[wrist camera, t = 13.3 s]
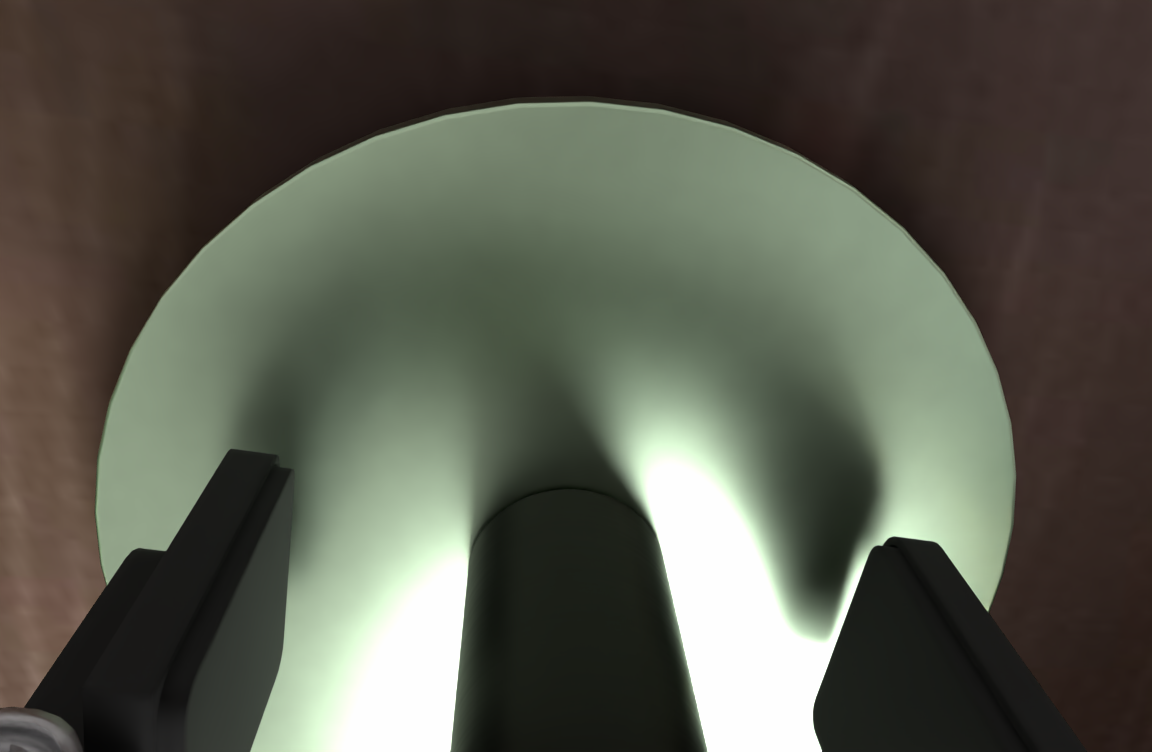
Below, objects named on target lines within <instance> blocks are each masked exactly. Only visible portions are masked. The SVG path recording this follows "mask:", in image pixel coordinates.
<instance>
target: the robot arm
mask: <svg viewBox="0 0 1152 752" xmlns="http://www.w3.org/2000/svg"><path fill="white" fill-rule="evenodd" d="M294 486H295V471H294V469H291V468H283V467H280V459H279V456H278V455H276V454H268V453H261V452H253V451H246V450H238V449H230V450H229V451H228V452H227V453H226V455H225V456H224V458H223V460H222V461H221V463H220V465H219V466H218V468H217V469H216V471H215V473H214V474H213V476H212V477H211V479H210V481H209V482H208V484H207V486H206V487H205V489H204V490H203V492H202V494H201V495H200V497H199V499H198V500H197V502H196V503H195V505H194V507H193V508H192V510H191V511H190V513H189V515H188V516H187V518H186V520H185V521H184V523H183V524H182V526H181V528H180V529H179V531H178V533H177V534H176V536H175V537H174V539H173V541H172V542H171V544H170V545H169V547H168V549H167V550H166V551H160V550H152V549H143V548H137V549H135V550H132V551H131V552H130V554H129V555H128V556H127V557H126V558H125V560H124V561H123V563H122V564H121V565H120V567H119V568H118V570H117V571H116V573H115V574H114V576H113V577H112V579H111V580H110V582H109V583H108V585H107V586H106V588H105V589H104V591H103V592H102V593H101V595H100V596H99V598H98V599H97V601H96V602H95V604H94V605H93V607H92V608H91V610H90V611H89V613H88V614H87V616H86V617H85V618H84V620H83V621H82V623H81V624H80V626H79V627H78V629H77V630H76V632H75V633H74V635H73V636H72V638H71V639H70V641H69V642H68V644H67V645H66V646H65V648H64V649H63V651H62V652H61V654H60V655H59V657H58V658H57V660H56V661H55V663H54V664H53V666H52V667H51V669H50V670H49V672H48V673H47V674H46V676H45V677H44V679H43V680H42V682H41V683H40V685H39V686H38V688H37V689H36V691H35V692H34V694H33V695H32V697H31V698H30V700H29V701H28V702H27V704H26V705H25V707H24V708H19V707H6V708H0V752H250V751H251V748H252V745H253V742H254V740H255V737H256V734H257V731H258V728H259V725H260V723H261V720H262V717H263V714H264V711H265V708H266V706H267V703H268V700H269V697H270V694H271V691H272V689H273V686H274V683H275V680H276V677H277V674H278V671H279V667H280V663H281V658H282V652H283V644H284V631H285V616H286V602H287V587H288V573H289V558H290V544H291V529H292V515H293V501H294ZM813 727H814V731H815V734H816V737H817V740H818V742H819V745H820V748H821V750H822V752H1087V750H1086V749H1085V748H1084V746H1083V745H1082V743H1081V742H1080V741H1079V739H1078V738H1077V736H1076V735H1075V734H1074V732H1073V731H1072V729H1071V728H1070V727H1069V725H1068V724H1067V722H1066V721H1065V720H1064V718H1063V717H1062V715H1061V714H1060V713H1059V711H1058V710H1057V708H1056V707H1055V706H1054V704H1053V703H1052V701H1051V700H1050V699H1049V697H1048V696H1047V694H1046V693H1045V692H1044V690H1043V689H1042V687H1041V686H1040V685H1039V683H1038V682H1037V680H1036V679H1035V677H1034V676H1033V675H1032V673H1031V672H1030V670H1029V669H1028V668H1027V666H1026V665H1025V663H1024V662H1023V661H1022V659H1021V658H1020V656H1019V655H1018V654H1017V652H1016V651H1015V649H1014V648H1013V647H1012V645H1011V644H1010V642H1009V641H1008V640H1007V638H1006V637H1005V635H1004V634H1003V633H1002V631H1001V630H1000V628H999V627H998V626H997V624H996V623H995V621H994V620H993V619H992V617H991V616H990V614H989V613H988V612H987V610H986V609H985V607H984V606H983V605H982V603H981V602H980V600H979V599H978V598H977V596H976V595H975V593H974V592H973V591H972V589H971V588H970V586H969V585H968V584H967V582H966V581H965V579H964V578H963V577H962V575H961V574H960V572H959V571H958V570H957V568H956V567H955V565H954V564H953V562H952V561H951V560H950V558H949V557H948V555H947V554H946V553H945V551H944V550H943V548H942V547H941V546H940V545H939V544H938V543H937V542H933V541H926V540H919V539H911V538H904V537H896V536H893V537H890V538H888V539H887V540H886V541H885V543H884V544H883V546H880V545H877V546H874V547H873V549H872V550H871V551H870V553H869V555H868V558H867V561H866V563H865V566H864V569H863V571H862V574H861V577H860V579H859V582H858V585H857V588H856V590H855V593H854V596H853V598H852V601H851V604H850V606H849V609H848V612H847V615H846V617H845V620H844V623H843V625H842V628H841V631H840V634H839V636H838V639H837V642H836V644H835V647H834V650H833V652H832V655H831V658H830V661H829V663H828V666H827V669H826V671H825V674H824V677H823V679H822V682H821V685H820V688H819V690H818V693H817V696H816V698H815V702H814V705H813Z"/></svg>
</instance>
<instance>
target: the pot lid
mask: <svg viewBox="0 0 1152 752" xmlns="http://www.w3.org/2000/svg"><path fill="white" fill-rule="evenodd" d="M230 449H238V450H246V451H253V452H261V453H268V454H276V455H278V456H279V459H280V467H283V468H291V469H294V471H295V486H294V501H293V515H292V529H291V544H290V558H289V573H288V587H287V602H286V616H285V631H284V644H283V652H282V658H281V663H280V667H279V671H278V674H277V677H276V680H275V683H274V686H273V689H272V691H271V694H270V697H269V700H268V703H267V706H266V708H265V711H264V714H263V717H262V720H261V723H260V725H259V728H258V731H257V734H256V737H255V740H254V742H253V745H252V748H251V751H250V752H822V750H821V748H820V745H819V742H818V740H817V737H816V734H815V731H814V727H813V705H814V702H815V698H816V696H817V693H818V690H819V688H820V685H821V682H822V679H823V677H824V674H825V671H826V669H827V666H828V663H829V661H830V658H831V655H832V652H833V650H834V647H835V644H836V642H837V639H838V636H839V634H840V631H841V628H842V625H843V623H844V620H845V617H846V615H847V612H848V609H849V606H850V604H851V601H852V598H853V596H854V593H855V590H856V588H857V585H858V582H859V579H860V577H861V574H862V571H863V569H864V566H865V563H866V561H867V558H868V555H869V553H870V551H871V550H872V549H873V547H874V546H877V545H880V546H883V544H884V543H885V541H886V540H887V539H888V538H890V537H893V536H896V537H904V538H911V539H919V540H926V541H933V542H937V543H938V544H939V545H940V546H941V547H942V548H943V550H944V551H945V553H946V554H947V555H948V557H949V558H950V560H951V561H952V562H953V564H954V565H955V567H956V568H957V570H958V571H959V572H960V574H961V575H962V577H963V578H964V579H965V581H966V582H967V584H968V585H969V586H970V588H971V589H972V591H973V592H974V593H975V595H976V596H977V598H978V599H979V600H980V602H981V603H982V605H983V606H984V607H985V609H986V610H987V612H988V613H989V612H990V609H991V606H992V604H993V601H994V598H995V595H996V593H997V590H998V587H999V584H1000V582H1001V579H1002V576H1003V573H1004V568H1005V563H1006V559H1007V554H1008V549H1009V544H1010V540H1011V535H1012V530H1013V524H1014V507H1015V490H1016V467H1015V457H1014V447H1013V436H1012V426H1011V420H1010V416H1009V412H1008V409H1007V405H1006V401H1005V397H1004V393H1003V389H1002V386H1001V382H1000V378H999V374H998V370H997V368H996V366H995V364H994V361H993V359H992V357H991V355H990V352H989V350H988V348H987V345H986V343H985V341H984V339H983V336H982V334H981V332H980V330H979V327H978V325H977V323H976V321H975V319H974V317H973V316H972V314H971V313H970V311H969V310H968V308H967V307H966V305H965V303H964V302H963V300H962V299H961V297H960V296H959V294H958V293H957V291H956V290H955V288H954V287H953V285H952V283H951V282H950V280H949V279H948V277H947V276H946V274H945V273H944V271H943V270H942V269H941V268H940V267H939V266H938V265H937V263H936V262H935V261H934V260H933V259H932V258H931V257H930V256H929V255H928V253H927V252H926V251H925V250H924V249H923V248H922V247H921V246H920V245H919V243H918V242H917V241H916V240H915V239H914V238H913V237H912V236H911V235H910V233H909V232H908V231H907V230H906V229H905V228H904V227H903V226H902V225H901V224H900V223H898V222H897V221H896V220H895V219H893V218H892V217H891V216H890V215H889V214H887V213H886V212H885V211H884V210H882V209H881V208H880V207H879V206H877V205H876V204H875V203H874V202H873V201H871V200H870V199H869V198H868V197H866V196H865V195H864V194H863V193H862V192H860V191H859V190H858V189H857V188H855V187H854V186H853V185H851V184H850V183H848V182H847V181H845V180H844V179H842V178H840V177H839V176H837V175H835V174H834V173H832V172H830V171H829V170H827V169H825V168H824V167H822V166H820V165H819V164H817V163H815V162H814V161H812V160H810V159H808V158H807V157H805V156H803V155H802V154H800V153H798V152H797V151H795V150H793V149H792V148H790V147H788V146H786V145H783V144H781V143H779V142H776V141H774V140H771V139H769V138H766V137H764V136H762V135H759V134H757V133H754V132H752V131H750V130H747V129H745V128H742V127H740V126H737V125H735V124H733V123H730V122H728V121H725V120H721V119H717V118H713V117H709V116H705V115H701V114H697V113H694V112H690V111H686V110H682V109H678V108H674V107H670V106H666V105H662V104H657V103H649V102H640V101H631V100H622V99H613V98H604V97H596V96H557V97H517V98H511V99H505V100H498V101H492V102H486V103H480V104H474V105H467V106H461V107H455V108H449V109H445V110H441V111H438V112H435V113H432V114H428V115H425V116H422V117H418V118H415V119H412V120H409V121H405V122H402V123H399V124H395V125H392V126H389V127H386V128H382V129H379V130H377V131H375V132H373V133H371V134H369V135H366V136H364V137H362V138H360V139H358V140H356V141H353V142H351V143H349V144H347V145H345V146H343V147H341V148H338V149H336V150H334V151H332V152H330V153H328V154H326V155H323V156H321V157H319V158H317V159H315V160H314V161H312V162H311V163H309V164H308V165H306V166H305V167H303V168H302V169H300V170H299V171H297V172H295V173H294V174H292V175H291V176H289V177H288V178H286V179H285V180H283V181H282V182H280V183H279V184H277V185H276V186H274V187H272V188H271V189H269V190H268V191H266V192H265V193H263V194H262V195H260V196H259V197H258V198H257V199H256V200H255V201H253V202H252V203H251V204H250V205H249V206H248V207H247V208H245V209H244V210H243V211H242V212H241V213H240V214H239V215H238V216H236V217H235V218H234V219H233V220H232V221H231V222H230V223H228V224H227V225H226V226H225V227H224V228H223V229H222V230H221V231H219V232H218V233H217V234H216V235H215V236H214V237H213V238H212V239H210V240H209V241H208V242H207V243H206V244H205V245H204V246H203V247H202V248H201V249H200V250H199V251H198V252H197V254H196V255H195V256H194V257H193V258H192V260H191V261H190V262H189V263H188V264H187V266H186V267H185V268H184V269H183V270H182V272H181V273H180V274H179V275H178V276H177V278H176V279H175V280H174V281H173V282H172V284H171V285H170V286H169V287H168V288H167V290H166V291H165V292H164V293H163V294H162V296H161V297H160V299H159V301H158V302H157V304H156V306H155V307H154V309H153V311H152V312H151V314H150V316H149V317H148V319H147V321H146V323H145V324H144V326H143V328H142V329H141V331H140V333H139V334H138V336H137V338H136V339H135V341H134V343H133V344H132V346H131V348H130V350H129V353H128V355H127V358H126V360H125V363H124V365H123V368H122V370H121V373H120V375H119V378H118V381H117V383H116V386H115V388H114V391H113V393H112V396H111V398H110V401H109V405H108V409H107V414H106V418H105V423H104V428H103V432H102V437H101V442H100V446H99V451H98V456H97V473H96V493H95V520H96V528H97V537H98V546H99V555H100V564H101V568H102V571H103V575H104V579H105V582H106V586H107V585H108V583H109V582H110V580H111V579H112V577H113V576H114V574H115V573H116V571H117V570H118V568H119V567H120V565H121V564H122V563H123V561H124V560H125V558H126V557H127V556H128V555H129V554H130V552H131V551H132V550H135V549H137V548H143V549H152V550H160V551H166V550H167V549H168V547H169V545H170V544H171V542H172V541H173V539H174V537H175V536H176V534H177V533H178V531H179V529H180V528H181V526H182V524H183V523H184V521H185V520H186V518H187V516H188V515H189V513H190V511H191V510H192V508H193V507H194V505H195V503H196V502H197V500H198V499H199V497H200V495H201V494H202V492H203V490H204V489H205V487H206V486H207V484H208V482H209V481H210V479H211V477H212V476H213V474H214V473H215V471H216V469H217V468H218V466H219V465H220V463H221V461H222V460H223V458H224V456H225V455H226V453H227V452H228V451H229V450H230Z"/></svg>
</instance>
